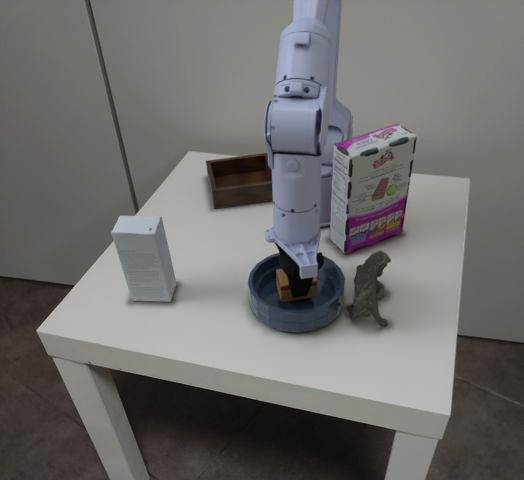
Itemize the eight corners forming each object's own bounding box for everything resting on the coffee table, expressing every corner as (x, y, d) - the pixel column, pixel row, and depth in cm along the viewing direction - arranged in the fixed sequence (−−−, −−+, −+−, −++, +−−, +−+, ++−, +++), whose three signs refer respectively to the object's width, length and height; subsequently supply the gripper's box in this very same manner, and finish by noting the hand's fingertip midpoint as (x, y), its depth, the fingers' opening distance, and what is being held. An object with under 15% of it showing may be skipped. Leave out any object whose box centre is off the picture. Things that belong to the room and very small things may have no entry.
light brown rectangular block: (310, 280, 78) (311, 264, 75) (316, 296, 75) (317, 280, 73) (276, 285, 77) (275, 269, 75) (281, 302, 75) (280, 285, 73)
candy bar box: (384, 218, 90) (398, 121, 78) (402, 233, 87) (420, 135, 75) (326, 239, 87) (331, 141, 75) (344, 256, 84) (352, 156, 72)
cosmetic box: (177, 283, 81) (163, 215, 72) (171, 302, 78) (155, 234, 70) (138, 282, 82) (119, 214, 73) (130, 301, 79) (110, 232, 70)
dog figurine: (386, 335, 72) (393, 293, 67) (342, 329, 73) (346, 287, 68) (393, 277, 80) (400, 236, 74) (354, 273, 81) (358, 231, 76)
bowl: (329, 266, 82) (330, 244, 80) (354, 326, 74) (356, 304, 71) (243, 278, 81) (241, 257, 78) (258, 341, 73) (256, 320, 70)
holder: (268, 169, 102) (268, 152, 100) (279, 200, 95) (279, 182, 93) (207, 177, 101) (205, 160, 99) (214, 209, 94) (212, 191, 92)
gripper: (253, 173, 70) (259, 257, 80) (275, 239, 60) (278, 325, 70) (307, 166, 70) (305, 250, 80) (337, 230, 61) (331, 317, 71)
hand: (296, 285), depth 75 cm, fingers closed on light brown rectangular block, 3 cm apart
